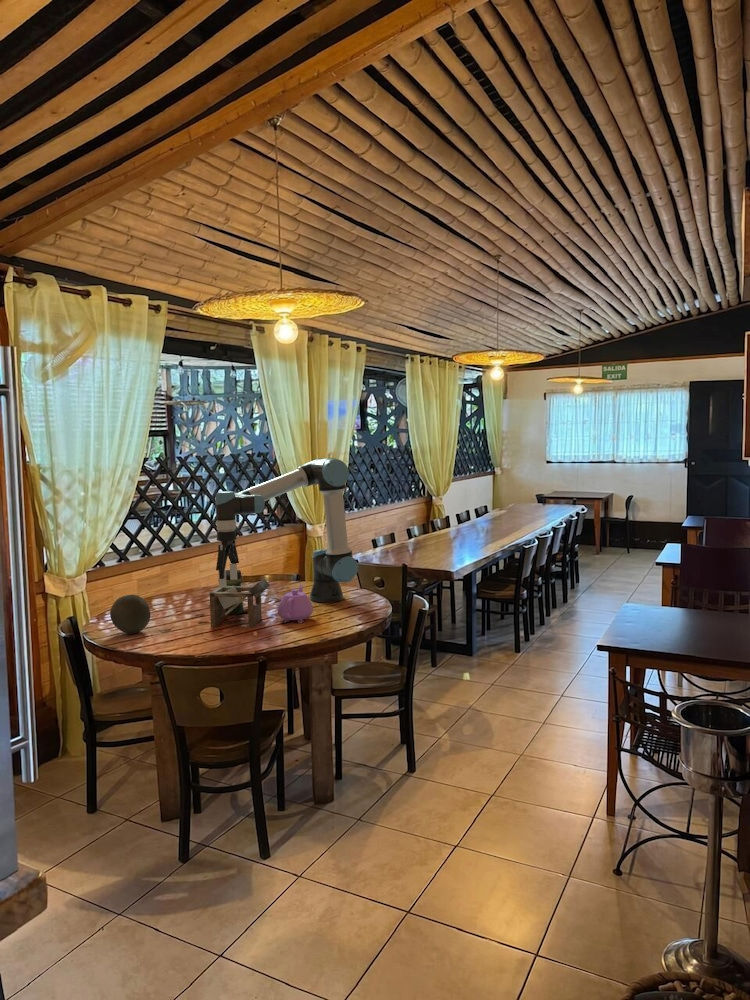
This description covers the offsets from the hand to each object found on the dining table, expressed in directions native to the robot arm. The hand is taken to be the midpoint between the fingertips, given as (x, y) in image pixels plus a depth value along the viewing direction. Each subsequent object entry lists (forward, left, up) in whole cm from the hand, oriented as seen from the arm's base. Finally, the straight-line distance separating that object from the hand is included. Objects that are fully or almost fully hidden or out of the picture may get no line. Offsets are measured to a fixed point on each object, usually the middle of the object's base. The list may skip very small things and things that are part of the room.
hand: (228, 583), depth 270 cm
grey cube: (-2, 0, -9) cm, 9 cm away
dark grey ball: (+33, +17, -16) cm, 41 cm away
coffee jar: (+4, -15, -16) cm, 23 cm away
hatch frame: (-3, 0, -16) cm, 16 cm away
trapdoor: (-9, 0, -8) cm, 12 cm away
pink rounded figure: (-26, -6, -16) cm, 31 cm away
